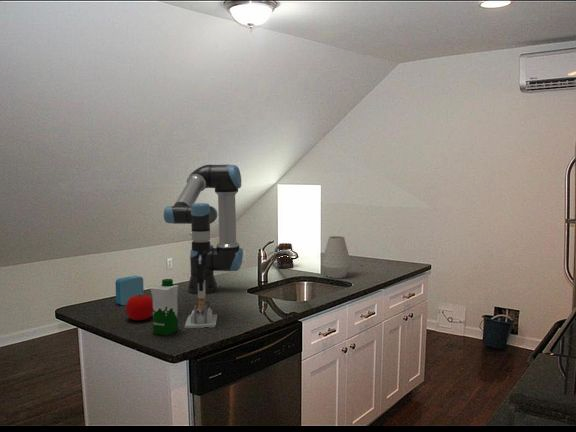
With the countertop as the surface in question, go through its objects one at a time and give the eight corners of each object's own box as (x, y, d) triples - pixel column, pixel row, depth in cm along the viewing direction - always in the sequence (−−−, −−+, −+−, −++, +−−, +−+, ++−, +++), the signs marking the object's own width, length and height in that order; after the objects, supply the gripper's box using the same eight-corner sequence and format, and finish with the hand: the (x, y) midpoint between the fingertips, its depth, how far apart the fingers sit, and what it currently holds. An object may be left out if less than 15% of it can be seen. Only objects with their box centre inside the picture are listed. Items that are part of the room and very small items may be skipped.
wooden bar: (199, 300, 206) (198, 295, 205) (205, 300, 206) (205, 295, 205) (196, 313, 196) (196, 309, 195) (204, 313, 196) (203, 309, 196)
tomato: (127, 324, 198) (126, 299, 197) (125, 316, 209) (124, 292, 208) (156, 321, 202) (155, 296, 201) (152, 313, 214) (151, 289, 212)
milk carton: (181, 329, 192) (180, 279, 190) (168, 337, 183) (166, 284, 182) (162, 327, 195) (161, 277, 193) (148, 334, 187) (147, 282, 185)
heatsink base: (188, 317, 208) (188, 299, 207) (217, 316, 209) (216, 298, 208) (184, 328, 194) (184, 308, 193) (215, 327, 195) (215, 307, 194)
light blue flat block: (138, 299, 237) (138, 274, 235) (144, 300, 234) (143, 276, 232) (115, 304, 228) (115, 279, 226) (121, 306, 225) (120, 280, 223)
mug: (283, 265, 319) (283, 242, 318) (296, 266, 313) (296, 243, 312) (268, 269, 307) (268, 245, 305) (282, 271, 301) (282, 246, 299)
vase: (343, 272, 297) (343, 234, 294) (356, 278, 280) (356, 238, 278) (316, 274, 291) (316, 235, 289) (328, 280, 275) (328, 240, 273)
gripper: (193, 238, 209) (194, 292, 211) (189, 244, 193) (190, 302, 195) (211, 238, 210) (212, 291, 212) (208, 243, 193) (209, 302, 195)
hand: (201, 296), depth 203 cm, fingers open, 3 cm apart
